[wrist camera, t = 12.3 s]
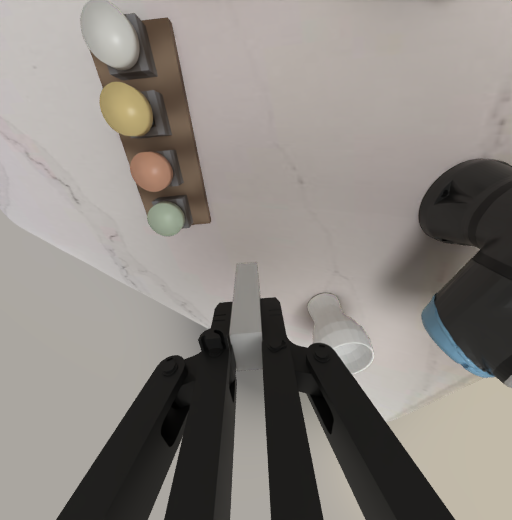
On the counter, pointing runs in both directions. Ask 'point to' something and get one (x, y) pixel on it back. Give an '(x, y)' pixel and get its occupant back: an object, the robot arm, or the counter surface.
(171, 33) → the panel
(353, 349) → the cup
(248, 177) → the counter surface
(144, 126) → the ochre button
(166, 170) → the terracotta button
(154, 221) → the sage button
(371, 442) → the robot arm
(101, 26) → the grey button
